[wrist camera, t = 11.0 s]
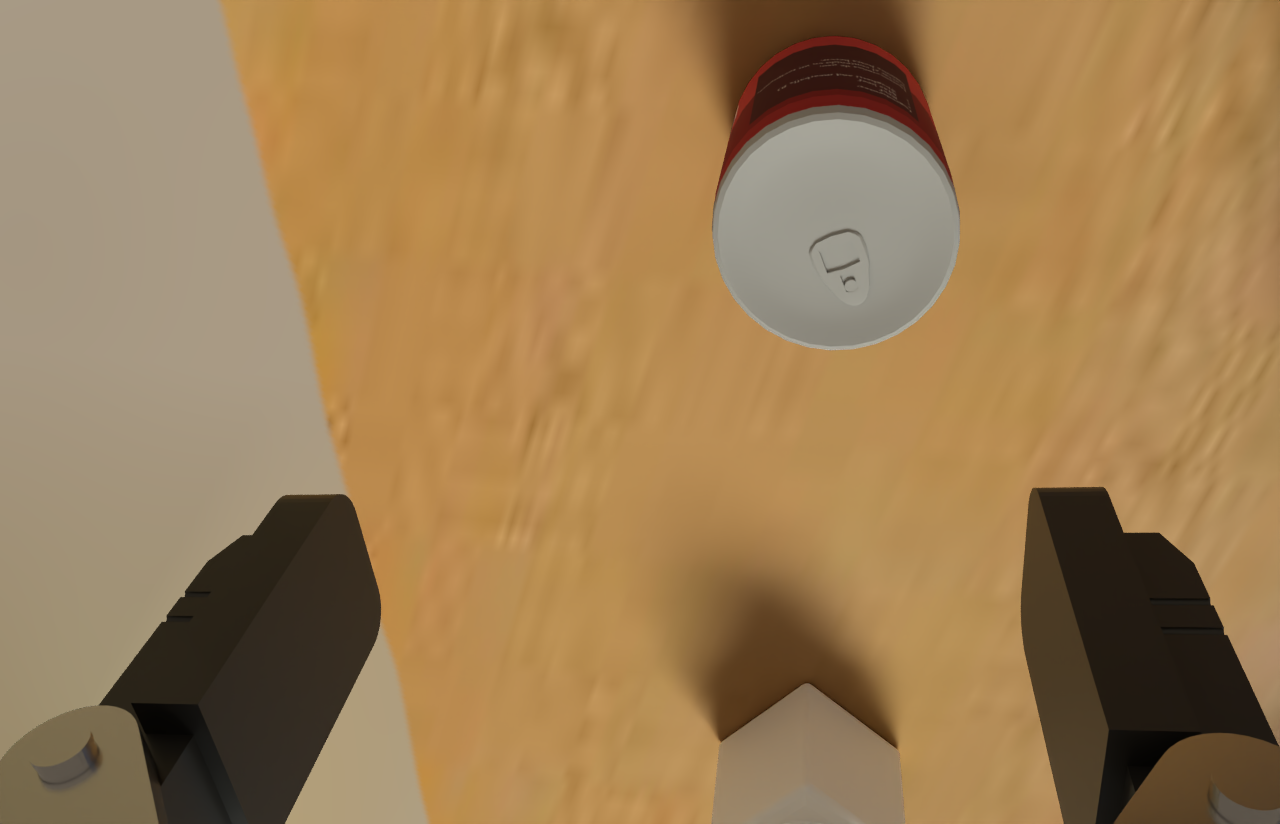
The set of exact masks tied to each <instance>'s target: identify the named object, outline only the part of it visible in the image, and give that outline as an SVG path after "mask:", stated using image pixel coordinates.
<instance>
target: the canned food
mask: <svg viewBox="0 0 1280 824" xmlns="http://www.w3.org/2000/svg"><path fill="white" fill-rule="evenodd" d="M712 232H713V242H714V250H715V258H716V261H717V264H718V267H719V270H720V272H721V275H722V278H723V280H724V282H725V284H726V286H727V287H728V289H729V291H730V293H731V294H732V296H733V298H734V299H735V300H736V302H737V303H738V304H739V305H740V306H741V307H742V309H743V310H744V311H745V312H746V313H747V314H748V315H749V316H750V317H751V318H752V319H754V320H755V321H756V322H757V323H759V324H760V325H761V326H762V327H764V328H765V329H766V330H768V331H770V332H772V333H773V334H775V335H777V336H779V337H781V338H783V339H785V340H787V341H790V342H793V343H796V344H799V345H803V346H806V347H810V348H818V349H825V350H845V349H856V348H860V347H865V346H869V345H873V344H877V343H879V342H881V341H884V340H886V339H888V338H891V337H893V336H895V335H897V334H899V333H900V332H902V331H903V330H905V329H906V328H908V327H909V326H911V325H912V324H914V323H915V322H917V321H918V320H919V319H920V318H921V317H922V316H923V315H924V314H925V313H926V312H927V311H928V310H929V309H930V308H931V307H932V306H933V305H934V303H935V302H936V300H937V299H938V297H939V296H940V294H941V293H942V291H943V290H944V288H945V287H946V285H947V283H948V280H949V278H950V275H951V273H952V271H953V268H954V266H955V262H956V257H957V252H958V247H959V242H960V211H959V206H958V202H957V197H956V193H955V188H954V185H953V181H952V176H951V173H950V170H949V167H948V164H947V161H946V158H945V155H944V152H943V149H942V146H941V143H940V140H939V137H938V134H937V131H936V128H935V125H934V122H933V119H932V116H931V113H930V110H929V107H928V104H927V101H926V99H925V97H924V95H923V92H922V90H921V88H920V86H919V84H918V83H917V81H916V80H915V79H914V77H913V76H912V74H911V73H910V72H909V70H908V69H907V68H906V67H905V66H904V65H903V64H902V63H901V62H899V61H898V60H897V59H896V58H895V57H894V56H893V55H892V54H890V53H888V52H886V51H885V50H883V49H881V48H879V47H878V46H876V45H874V44H871V43H868V42H865V41H862V40H859V39H856V38H849V37H840V36H828V37H818V38H812V39H809V40H806V41H802V42H799V43H796V44H793V45H792V46H790V47H788V48H786V49H784V50H783V51H781V52H779V53H777V54H776V55H775V56H773V57H772V58H771V59H770V60H769V61H767V62H766V63H765V64H764V65H763V66H762V67H761V68H760V69H759V70H758V71H757V73H756V74H755V75H754V76H753V78H752V79H751V80H750V82H749V83H748V85H747V87H746V89H745V91H744V93H743V95H742V96H741V98H740V100H739V103H738V107H737V111H736V114H735V118H734V121H733V125H732V129H731V133H730V138H729V142H728V146H727V150H726V154H725V158H724V162H723V166H722V170H721V174H720V178H719V182H718V186H717V190H716V197H715V202H714V208H713V222H712Z"/></svg>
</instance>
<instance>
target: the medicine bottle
mask: <svg viewBox="0 0 1280 824" xmlns="http://www.w3.org/2000/svg"><path fill="white" fill-rule="evenodd" d="M712 824H905V814H904V802H903V789H902V777H901V765H900V753H899V751H898V750H897V749H896V748H895V747H893V746H892V745H891V744H889V743H888V742H887V741H885V740H884V739H883V738H881V737H880V736H879V735H878V734H876V733H875V732H874V731H872V730H871V729H870V728H868V727H867V726H866V725H864V724H863V723H862V722H860V721H859V720H858V719H856V718H855V717H854V716H852V715H851V714H850V713H848V712H847V711H846V710H844V709H843V708H842V707H840V706H839V705H838V704H836V703H835V702H834V701H832V700H831V699H830V698H828V697H827V696H826V695H824V694H823V693H822V692H820V691H819V690H818V689H817V688H815V687H814V686H813V685H811V684H809V683H805V684H803V685H801V686H800V687H799V688H797V689H796V690H794V691H793V692H791V693H790V694H789V695H787V696H786V697H784V698H783V699H782V700H780V701H779V702H777V703H776V704H774V705H773V706H772V707H770V708H769V709H767V710H766V711H765V712H763V713H762V714H760V715H759V716H757V717H756V718H755V719H753V720H752V721H750V722H749V723H748V724H746V725H745V726H743V727H742V728H740V729H739V730H738V731H736V732H735V733H733V734H732V735H731V736H729V737H728V738H726V739H725V740H723V741H722V742H721V743H720V745H719V754H718V764H717V774H716V784H715V794H714V804H713V814H712Z"/></svg>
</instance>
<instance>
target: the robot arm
mask: <svg viewBox="0 0 1280 824" xmlns="http://www.w3.org/2000/svg"><path fill="white" fill-rule="evenodd" d="M380 619H381V601H380V594H379V590H378V586H377V583H376V579H375V576H374V572H373V569H372V565H371V562H370V559H369V555H368V552H367V548H366V545H365V541H364V538H363V534H362V531H361V528H360V524H359V521H358V517H357V514H356V511H355V508H354V505H353V503H352V502H351V500H350V499H349V498H348V497H347V496H346V495H343V494H336V495H335V494H334V495H332V494H331V495H285V496H282V497H281V498H280V499H279V500H278V501H277V502H276V503H275V505H274V506H273V507H272V509H271V510H270V511H269V513H268V514H267V516H266V517H265V518H264V520H263V521H262V523H261V524H260V525H259V527H258V528H257V530H256V531H255V532H254V534H253V535H243V536H241V537H240V538H239V539H237V540H236V541H235V542H233V543H232V544H230V545H229V546H228V547H226V548H225V549H224V550H222V551H221V552H220V553H219V554H217V555H216V556H215V557H213V558H212V559H210V560H209V561H208V562H207V563H206V564H205V566H204V567H203V568H202V570H201V571H200V572H199V574H198V575H197V576H196V577H195V579H194V580H193V582H192V583H191V584H190V586H189V587H188V588H187V589H186V591H185V597H181V598H180V599H179V600H178V601H177V603H176V604H175V605H174V606H173V608H172V609H171V610H170V612H169V613H168V614H167V621H166V622H161V624H160V625H159V626H158V628H157V629H156V630H155V632H154V633H153V634H152V636H151V637H150V638H149V640H148V641H147V642H146V643H145V645H144V646H143V647H142V649H141V650H140V651H139V653H138V654H137V655H136V657H135V658H134V660H133V661H132V662H131V664H130V665H129V666H128V667H127V669H126V670H125V671H124V673H123V674H122V675H121V676H120V678H119V679H118V680H117V682H116V683H115V684H114V686H113V687H112V689H111V690H110V691H109V692H108V694H107V695H106V696H105V698H104V699H103V700H102V702H101V703H100V704H99V706H90V707H84V708H80V709H76V710H72V711H69V712H67V713H64V714H61V715H59V716H57V717H54V718H52V719H50V720H48V721H46V722H44V723H43V724H41V725H39V726H37V727H36V728H35V729H33V730H32V731H30V732H28V733H27V734H26V735H24V736H23V737H22V738H21V739H20V740H19V741H17V742H16V743H15V744H14V745H13V746H12V747H11V748H10V749H9V750H8V751H7V753H6V754H5V755H4V756H3V758H2V759H1V760H0V824H285V822H286V820H287V818H288V816H289V814H290V812H291V810H292V808H293V806H294V804H295V802H296V800H297V798H298V796H299V794H300V792H301V790H302V788H303V786H304V784H305V782H306V780H307V778H308V776H309V774H310V772H311V770H312V768H313V766H314V764H315V762H316V760H317V758H318V756H319V754H320V752H321V750H322V748H323V745H324V744H325V742H326V740H327V738H328V736H329V734H330V732H331V730H332V728H333V726H334V724H335V722H336V720H337V718H338V716H339V714H340V712H341V710H342V708H343V706H344V704H345V702H346V700H347V698H348V696H349V694H350V692H351V690H352V688H353V686H354V684H355V682H356V680H357V678H358V676H359V674H360V672H361V669H362V668H363V666H364V664H365V661H366V660H367V658H368V656H369V654H370V651H371V650H372V648H373V646H374V643H375V641H376V638H377V635H378V631H379V627H380ZM1021 625H1022V637H1023V645H1024V651H1025V656H1026V660H1027V665H1028V669H1029V673H1030V678H1031V682H1032V686H1033V691H1034V695H1035V699H1036V704H1037V708H1038V713H1039V717H1040V721H1041V726H1042V730H1043V734H1044V739H1045V743H1046V747H1047V752H1048V756H1049V760H1050V765H1051V769H1052V774H1053V778H1054V782H1055V787H1056V791H1057V795H1058V800H1059V804H1060V808H1061V813H1062V817H1063V821H1064V824H1280V747H1279V745H1278V743H1277V741H1276V739H1275V737H1274V735H1273V733H1272V730H1271V728H1270V726H1269V724H1268V722H1267V720H1266V717H1265V715H1264V713H1263V711H1262V709H1261V707H1260V705H1259V702H1258V700H1257V698H1256V696H1255V694H1254V692H1253V689H1252V687H1251V685H1250V683H1249V681H1248V679H1247V677H1246V674H1245V672H1244V670H1243V668H1242V666H1241V664H1240V661H1239V659H1238V657H1237V655H1236V653H1235V651H1234V649H1233V646H1232V644H1231V642H1230V640H1229V638H1228V636H1227V635H1224V627H1223V625H1222V623H1221V621H1220V618H1219V616H1218V614H1217V612H1216V610H1215V608H1214V605H1211V604H1210V597H1209V595H1208V592H1207V590H1206V588H1205V586H1204V584H1203V582H1202V580H1201V577H1200V575H1199V573H1198V571H1197V569H1196V567H1195V564H1194V563H1193V562H1192V561H1191V560H1190V559H1188V558H1187V557H1186V556H1185V555H1184V554H1183V553H1182V552H1180V551H1179V550H1178V549H1177V548H1176V547H1175V546H1174V545H1172V544H1171V543H1170V542H1169V541H1168V540H1167V539H1165V538H1164V537H1163V536H1162V535H1161V534H1160V533H1123V530H1122V527H1121V525H1120V522H1119V520H1118V517H1117V515H1116V512H1115V510H1114V507H1113V504H1112V502H1111V499H1110V497H1109V494H1108V492H1107V491H1106V489H1105V488H1104V487H1071V488H1033V489H1032V491H1031V494H1030V498H1029V506H1028V518H1027V530H1026V542H1025V555H1024V567H1023V579H1022V592H1021Z"/></svg>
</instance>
